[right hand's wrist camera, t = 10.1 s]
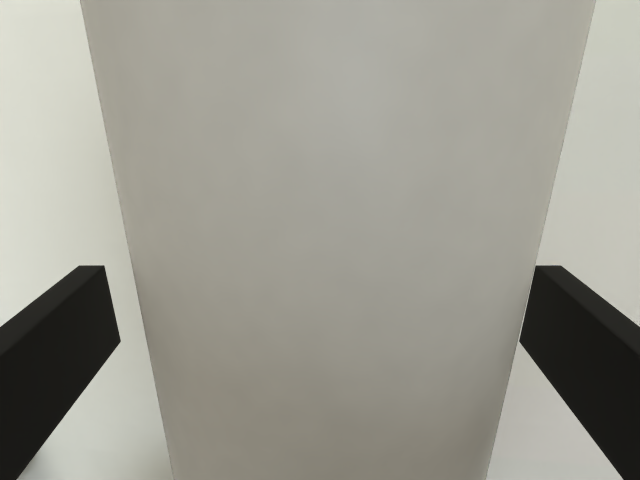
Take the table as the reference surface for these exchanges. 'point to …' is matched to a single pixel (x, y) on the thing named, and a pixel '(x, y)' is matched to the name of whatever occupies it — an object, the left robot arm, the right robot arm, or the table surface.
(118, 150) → the white cylinder
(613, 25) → the table surface
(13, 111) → the table surface
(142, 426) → the table surface
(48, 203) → the table surface
